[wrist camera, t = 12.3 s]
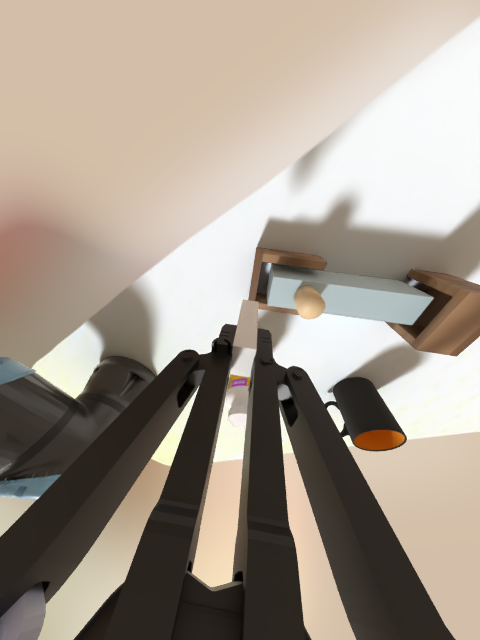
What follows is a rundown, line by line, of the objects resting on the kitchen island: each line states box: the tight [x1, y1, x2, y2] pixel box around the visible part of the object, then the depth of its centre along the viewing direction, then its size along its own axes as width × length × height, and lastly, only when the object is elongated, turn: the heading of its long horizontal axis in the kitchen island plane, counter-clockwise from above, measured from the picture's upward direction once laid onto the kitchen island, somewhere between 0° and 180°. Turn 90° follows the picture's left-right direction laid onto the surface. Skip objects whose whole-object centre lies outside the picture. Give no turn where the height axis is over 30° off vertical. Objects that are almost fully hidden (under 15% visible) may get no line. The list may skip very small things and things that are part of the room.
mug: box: [324, 377, 407, 451], centre depth 35 cm, size 8×12×10 cm
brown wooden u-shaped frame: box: [248, 247, 327, 315], centre depth 25 cm, size 9×8×4 cm
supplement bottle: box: [226, 374, 251, 429], centre depth 32 cm, size 7×7×13 cm
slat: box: [267, 264, 434, 325], centre depth 23 cm, size 19×4×9 cm, turn 85°
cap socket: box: [386, 269, 480, 356], centre depth 23 cm, size 5×8×8 cm, turn 174°
